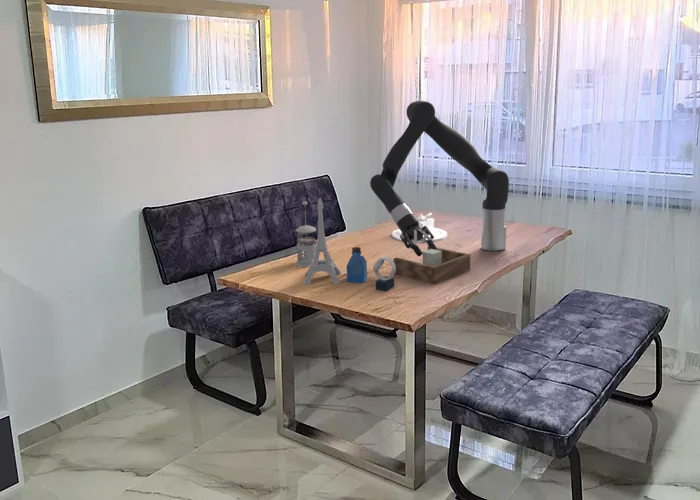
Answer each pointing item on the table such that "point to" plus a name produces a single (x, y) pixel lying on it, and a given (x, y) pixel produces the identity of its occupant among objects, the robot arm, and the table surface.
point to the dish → (423, 222)
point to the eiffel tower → (327, 262)
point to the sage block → (432, 257)
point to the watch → (382, 282)
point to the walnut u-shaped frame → (434, 267)
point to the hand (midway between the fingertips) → (427, 252)
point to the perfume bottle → (356, 267)
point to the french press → (305, 245)
